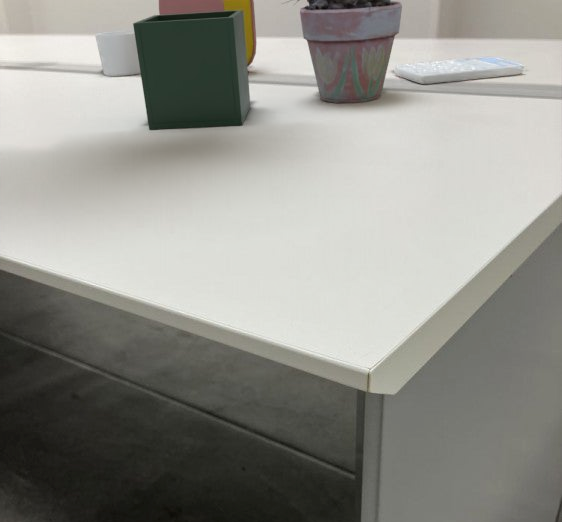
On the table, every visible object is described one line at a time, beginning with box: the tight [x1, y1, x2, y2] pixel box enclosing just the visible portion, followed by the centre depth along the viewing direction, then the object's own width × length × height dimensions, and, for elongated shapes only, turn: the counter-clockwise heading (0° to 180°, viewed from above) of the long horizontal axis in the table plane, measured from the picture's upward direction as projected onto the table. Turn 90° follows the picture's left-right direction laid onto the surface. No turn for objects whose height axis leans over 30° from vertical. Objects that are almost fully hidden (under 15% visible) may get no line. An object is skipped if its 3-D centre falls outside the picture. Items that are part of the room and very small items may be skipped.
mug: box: [94, 29, 141, 77], centre depth 151 cm, size 13×10×8 cm
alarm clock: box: [158, 0, 257, 68], centre depth 139 cm, size 18×11×19 cm, turn 49°
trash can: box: [132, 10, 251, 131], centre depth 100 cm, size 14×14×14 cm
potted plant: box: [281, 0, 403, 104], centre depth 105 cm, size 18×20×25 cm
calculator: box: [394, 56, 525, 85], centre depth 124 cm, size 13×20×2 cm, turn 104°
